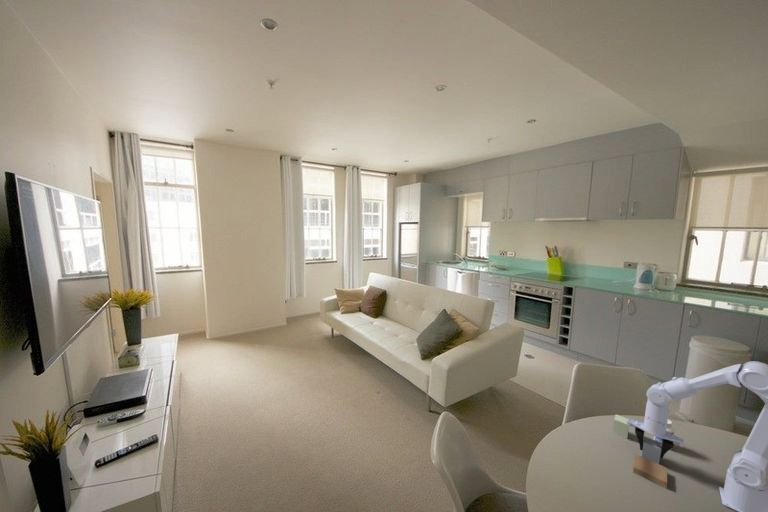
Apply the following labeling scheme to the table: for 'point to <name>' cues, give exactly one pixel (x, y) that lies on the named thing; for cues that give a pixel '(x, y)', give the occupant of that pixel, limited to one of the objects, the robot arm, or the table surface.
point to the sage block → (620, 426)
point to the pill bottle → (668, 429)
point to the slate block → (651, 450)
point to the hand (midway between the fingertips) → (650, 452)
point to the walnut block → (650, 470)
